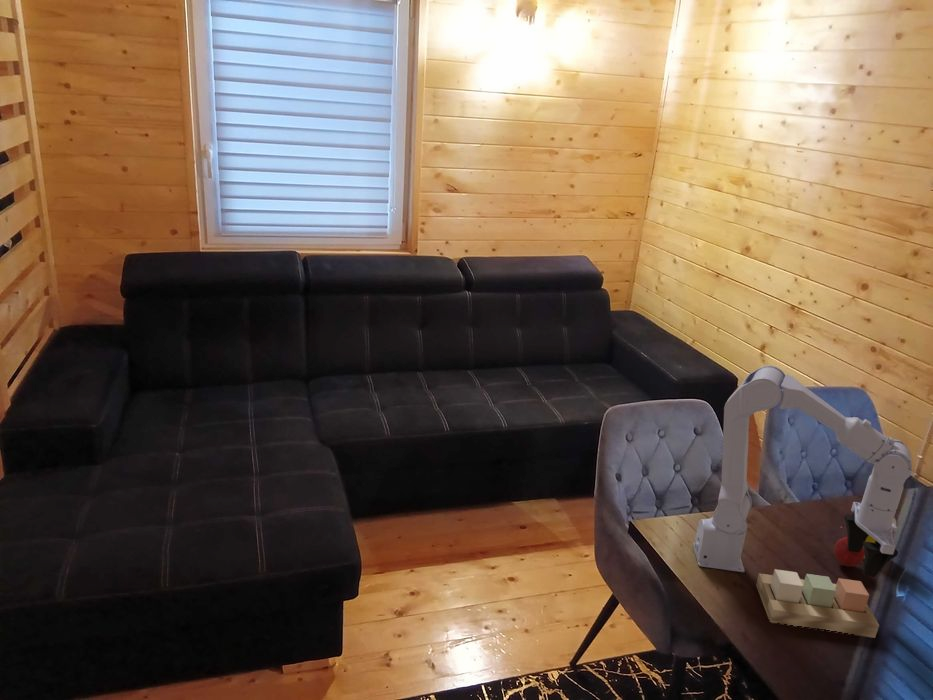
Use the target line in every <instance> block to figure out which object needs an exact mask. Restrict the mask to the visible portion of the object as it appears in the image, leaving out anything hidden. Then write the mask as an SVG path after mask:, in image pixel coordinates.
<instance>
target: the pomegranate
mask: <svg viewBox="0 0 933 700" xmlns="http://www.w3.org/2000/svg"><path fill="white" fill-rule="evenodd" d="M847 540H848V536H844V537H842V538H840V539H838V540H837V541H836V542H835V544H834V548H833V552H834V556H835V558H836V559H837V561H838V562H839V563H840V564H841V565H842V564H843V565H842V566H844V567H855V566H857V565H860V564H861V563H862V562H864V556H865V551H864V547H863V548H862V549H861V551H860V552H851V551H848V547H847Z"/></svg>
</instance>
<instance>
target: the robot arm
mask: <svg viewBox="0 0 933 700" xmlns="http://www.w3.org/2000/svg"><path fill="white" fill-rule="evenodd" d="M779 404H780V406H779V410H791V409H798V410H800V411H801V412H803V413H805V414H806V415H807V416H810V417H811V418H812V419H814V420H816V421H817V422H819V423H821V424H822V425H824V426H825V427H827V428H829V429H830V430H832V431H834V433H835V436H836V437H835V438H836V441H837V442H838V443H839V444H840V445H842V446H843V447H845V448H847V449H848V450H850V451H851V452H852V453H854V454H855V455H857V456H858V457H860V458H861V459H863V460H864V461H866V462H867V463H869V464H872V465H873V467H872V472H871V473H870V475H869V477H868V480H867V483H866V486H865V490H864V492H863V493H864V494H863V497H862V500H861V502H857V501H853V502H852V506H851V508H850V509H851V512H852V514H850V513H849V514H848V513H846V514H844V516H843V518H844V520H845V524H846V531H847V533H846V534H847V537H848V540H847V547H848V551H851V552H860V551H861V549H862V548H863V546H864V551H865V559H863V566H862V575H863V576H866V577H873V578H876V577H877V575H878V574H879V572H880V571H882V568H883V567H884V566H885V565H886V564H887V563H889V562H890V561H891V560H893V559H894V558H896V557H898V554H899V552H898V550H897V549H896V547H897V546H896V544H895V542H894V538H893V536H894V534H893V535H892V531H894V532H896V531H897V530H898V527H897V526H895V524H894V523H892V522H893V519H894V518H895V515H896V512H897V509H898V506H899V504H900V500H901V498H902V493H903V491H904V484H905V483H906V481H907V479H909V478H910V476H912V474H913V471H912V464H913V463H912V455H911V452H910V449H909V447H908V446H907V445H905V444H904V442H903V441H902V440H899V439H894V438H893V437H891V436H889V437H887V436H886V435H884V434H883V433H882V432H880V431H878V430H877V429H875V427H872V422H871V421H870V420H868V419H867V418H864V419H863V420H862V419H861V418H859V417H858V416H857V417H853V416H852V417H850V416H849V417H847V416H844V415H843V414H842V413H841V412H839V411H838V410H837V409H835V408H834V407H833V406H832V405H830V404H829V403H827V402H826V401H824V400H823V399H822V398H821V397H819V396H818V395H817V394H815V393H814V392H813V391H811V390H810V389H809V388H808V387H806V386H804V384H802V383H801V382H800V381H799V380H798V379H796V378H795V377H794V376H793V375H791V374H789V373H785V372H784V371H783V370H782V369H781V368H780V367H778V366H774V365H763V366H761V367H758V368H757V369H755V370H753V371H752V372H750V373H748V375H747V376H746V378H744V380H743V381H742V382H741V383H740V384H739V386H738V387H737V388H736V389H735V390H734V391H733V393H732V394H731V395H730V396H729V398H728V399H727V401H726V402H725V404H724V407H723V431H722V433H723V434H722V458H721V459H722V461H721V463H722V464H721V485H720V490H719V494H718V501H717V506H716V508H715V510H714V511H713V513H712V517H710V518H702V519H701V518H700V519H699V521H698V523H697V528H696V533H695V539H694V542H693V543H692V546H693V550H694V554H695V557H696V561H697V565H698V566H699V567H701V568H703V567H704V568H708V569H717V570H723V571H731V572H738V573H745V571H746V570H745V567H744V565H743V562H742V559H741V557H742V552H743V548H744V545H745V544H744V543H745V540H746V537H747V531H748V529H749V528H748V523H747V521H746V519H747V517H748V514H749V512H750V510H751V508H752V506H753V502H752V500H753V499H752V497H751V496H750V493H749V488H748V487H749V484H748V482H747V475H748V474H747V473H748V456H749V455H748V454H749V452H748V451H749V431H750V417H751V416H752V415H754V414H756V413H757V412H763V411H767V410H770V409H772V408H775V407H776V406H777V405H779ZM868 535H870V536H871V537H872V538H873V539H875V540H876V541H875V543H872V542H865V541H866V539H867V537H868Z"/></svg>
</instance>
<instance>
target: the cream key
mask: <svg viewBox="0 0 933 700" xmlns="http://www.w3.org/2000/svg"><path fill="white" fill-rule="evenodd" d="M772 575H773V578H772V582H771V585H770V586H771V589H772V591H773V593H774V596H775V598H776V600H781V601H788V602H795V603H799V600H800V597H801V593H802V589H803V584H802V582H801V580H800V579H801V577H800V576H799V573H798V572H797V571H791V570H790V571H789V570H783V569H776V568H774V570H773V573H772Z"/></svg>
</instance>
